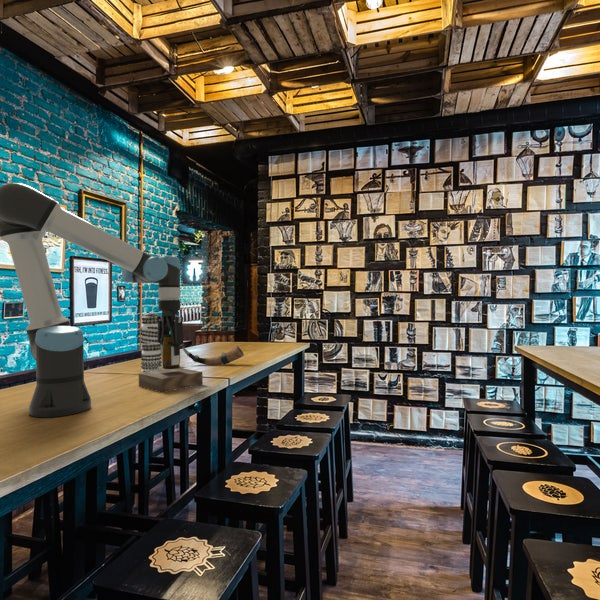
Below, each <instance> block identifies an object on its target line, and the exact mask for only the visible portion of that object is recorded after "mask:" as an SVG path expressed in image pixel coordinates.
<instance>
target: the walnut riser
mask: <svg viewBox="0 0 600 600" xmlns="http://www.w3.org/2000/svg"><path fill="white" fill-rule="evenodd" d="M203 378H204V377H203V371H199V370H192V369H187V368H180V369H171V370H169V369H168V370H166V369H162V370H158V371H152V372H140V373H138V387H140V386H142V387H141V388H144V387H145V389H147V388H149V389H148V390H151V389H153V390H152V391H155V390H157V391H156V392H158V391H160V392H159V393H162V392H163V393H166V392H165V391H168V392H171V391H170V390H173V391H175V390H174V389H178V390H181V389H180V388H183V389H186V388H185V387H188V388H191V387H190V386H193V387H197V386H196V385H198V386H202V384H203V385H204V383H203V382H204V381H203V380H204V379H203Z"/></svg>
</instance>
